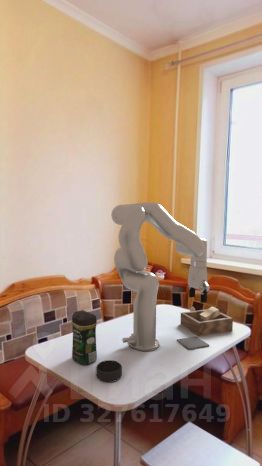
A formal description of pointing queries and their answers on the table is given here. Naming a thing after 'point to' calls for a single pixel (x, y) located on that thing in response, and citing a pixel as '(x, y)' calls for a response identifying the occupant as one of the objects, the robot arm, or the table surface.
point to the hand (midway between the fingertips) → (197, 299)
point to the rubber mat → (192, 342)
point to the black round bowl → (109, 371)
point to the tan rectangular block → (210, 314)
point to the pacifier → (192, 309)
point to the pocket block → (206, 323)
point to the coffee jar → (84, 337)
